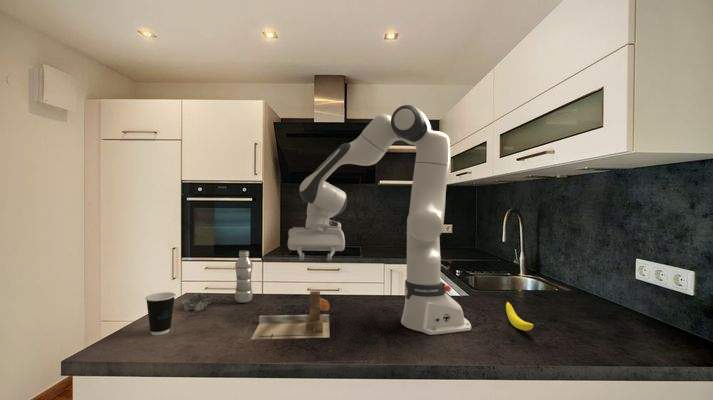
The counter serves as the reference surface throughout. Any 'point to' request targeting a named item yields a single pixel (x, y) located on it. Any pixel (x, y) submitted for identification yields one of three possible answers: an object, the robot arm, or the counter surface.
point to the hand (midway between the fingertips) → (315, 259)
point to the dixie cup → (160, 312)
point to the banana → (517, 319)
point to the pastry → (324, 305)
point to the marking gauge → (314, 314)
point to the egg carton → (196, 302)
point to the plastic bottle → (243, 277)
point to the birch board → (287, 327)
